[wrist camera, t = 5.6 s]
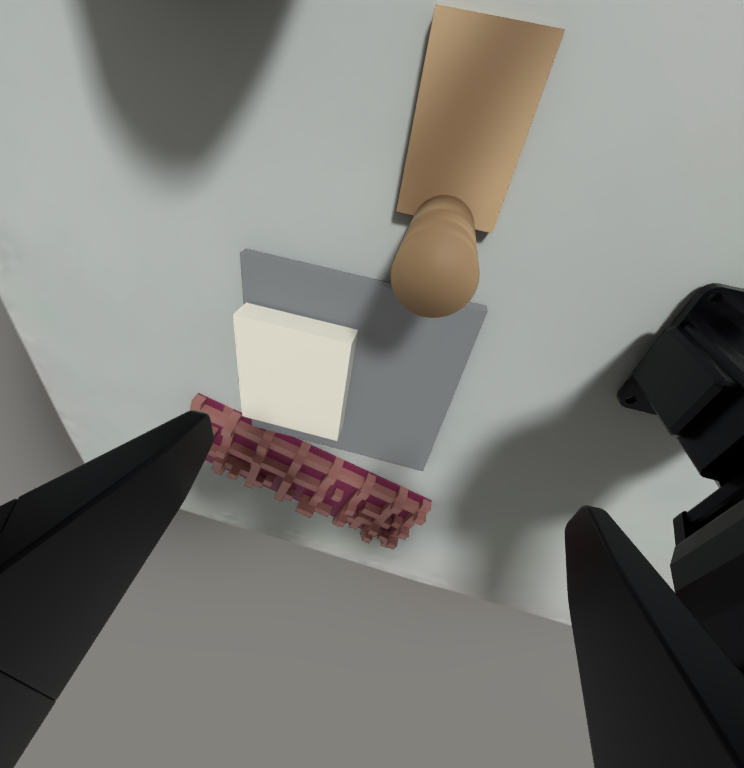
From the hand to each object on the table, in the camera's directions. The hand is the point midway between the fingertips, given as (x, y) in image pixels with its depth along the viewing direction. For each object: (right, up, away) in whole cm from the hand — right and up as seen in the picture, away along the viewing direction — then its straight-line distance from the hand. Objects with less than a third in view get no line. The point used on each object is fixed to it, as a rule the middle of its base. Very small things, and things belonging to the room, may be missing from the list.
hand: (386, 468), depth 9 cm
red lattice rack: (-6, -4, +20) cm, 21 cm away
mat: (-2, +3, +13) cm, 13 cm away
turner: (+3, +11, +5) cm, 12 cm away
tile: (-2, +2, +11) cm, 12 cm away
